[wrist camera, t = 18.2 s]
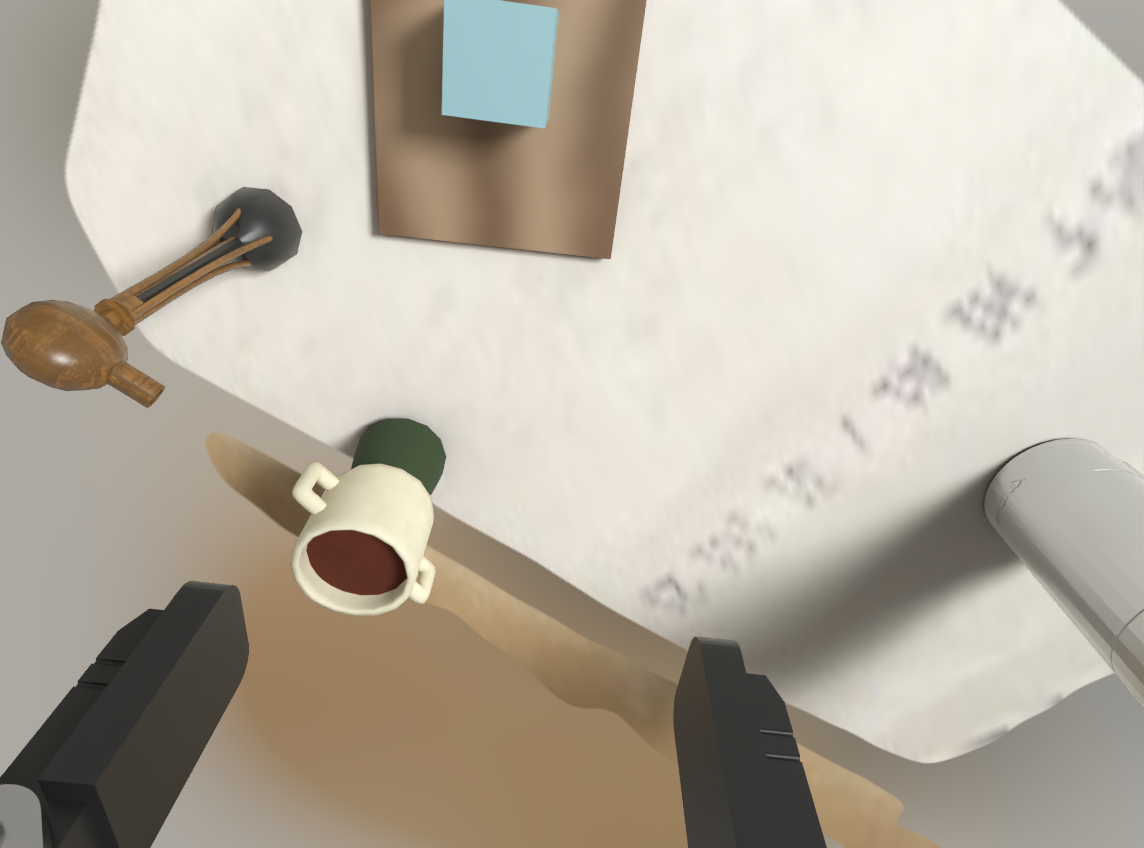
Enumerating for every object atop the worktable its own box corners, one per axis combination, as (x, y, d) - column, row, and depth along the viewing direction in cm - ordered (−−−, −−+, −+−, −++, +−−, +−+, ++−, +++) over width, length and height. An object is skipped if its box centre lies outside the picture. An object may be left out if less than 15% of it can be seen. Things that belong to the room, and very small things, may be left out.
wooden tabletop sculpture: (330, 236, 41) (150, 383, 24) (293, 290, 43) (101, 463, 26) (243, 169, 39) (-20, 277, 22) (208, 229, 41) (-62, 371, 24)
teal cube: (559, 11, 34) (556, 8, 30) (549, 117, 37) (544, 128, 33) (461, -3, 34) (444, -8, 30) (458, 105, 37) (441, 114, 32)
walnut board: (667, -164, 32) (669, -169, 31) (609, 254, 42) (610, 259, 41) (368, -205, 31) (362, -212, 30) (383, 229, 41) (379, 233, 40)
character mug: (315, 422, 48) (234, 541, 37) (386, 369, 46) (324, 478, 35) (420, 519, 52) (376, 652, 41) (489, 475, 50) (463, 603, 39)
